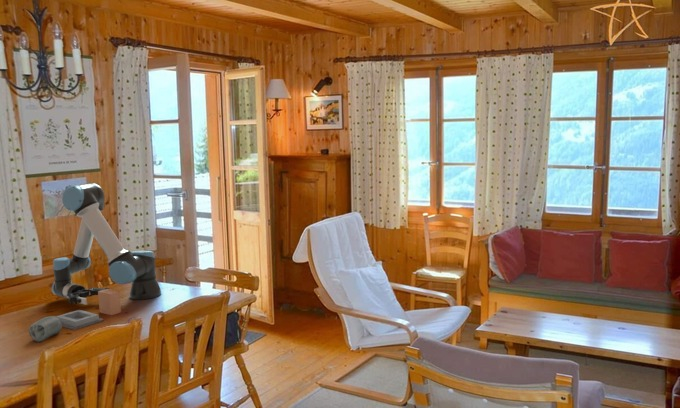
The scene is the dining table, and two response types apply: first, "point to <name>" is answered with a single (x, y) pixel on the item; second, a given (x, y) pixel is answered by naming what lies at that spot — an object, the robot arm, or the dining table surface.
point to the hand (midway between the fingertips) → (99, 298)
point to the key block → (109, 301)
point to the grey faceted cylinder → (45, 328)
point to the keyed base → (78, 319)
